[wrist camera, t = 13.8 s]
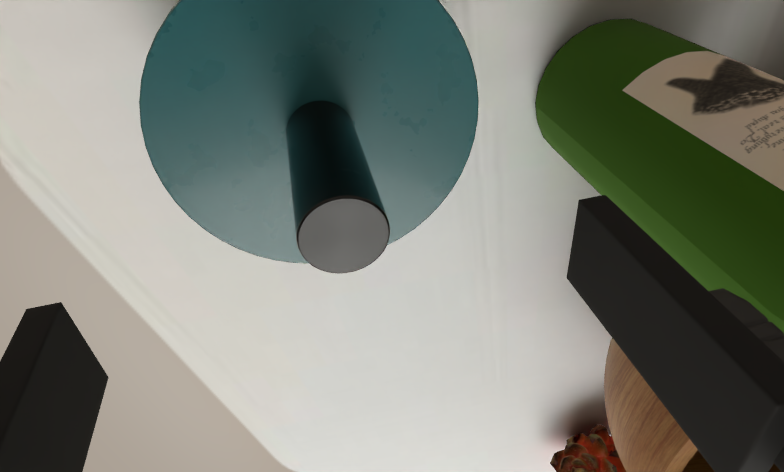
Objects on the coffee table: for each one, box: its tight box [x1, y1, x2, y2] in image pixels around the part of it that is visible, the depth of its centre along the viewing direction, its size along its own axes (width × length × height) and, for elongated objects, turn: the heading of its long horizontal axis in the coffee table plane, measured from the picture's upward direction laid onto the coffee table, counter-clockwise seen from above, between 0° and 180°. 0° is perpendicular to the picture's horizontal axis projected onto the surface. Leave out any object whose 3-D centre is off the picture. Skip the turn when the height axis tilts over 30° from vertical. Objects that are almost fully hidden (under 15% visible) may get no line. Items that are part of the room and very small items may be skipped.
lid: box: [139, 0, 478, 273], centre depth 19 cm, size 14×14×9 cm
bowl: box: [604, 338, 781, 472], centre depth 40 cm, size 25×25×15 cm
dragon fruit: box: [550, 425, 626, 472], centre depth 55 cm, size 8×8×12 cm
